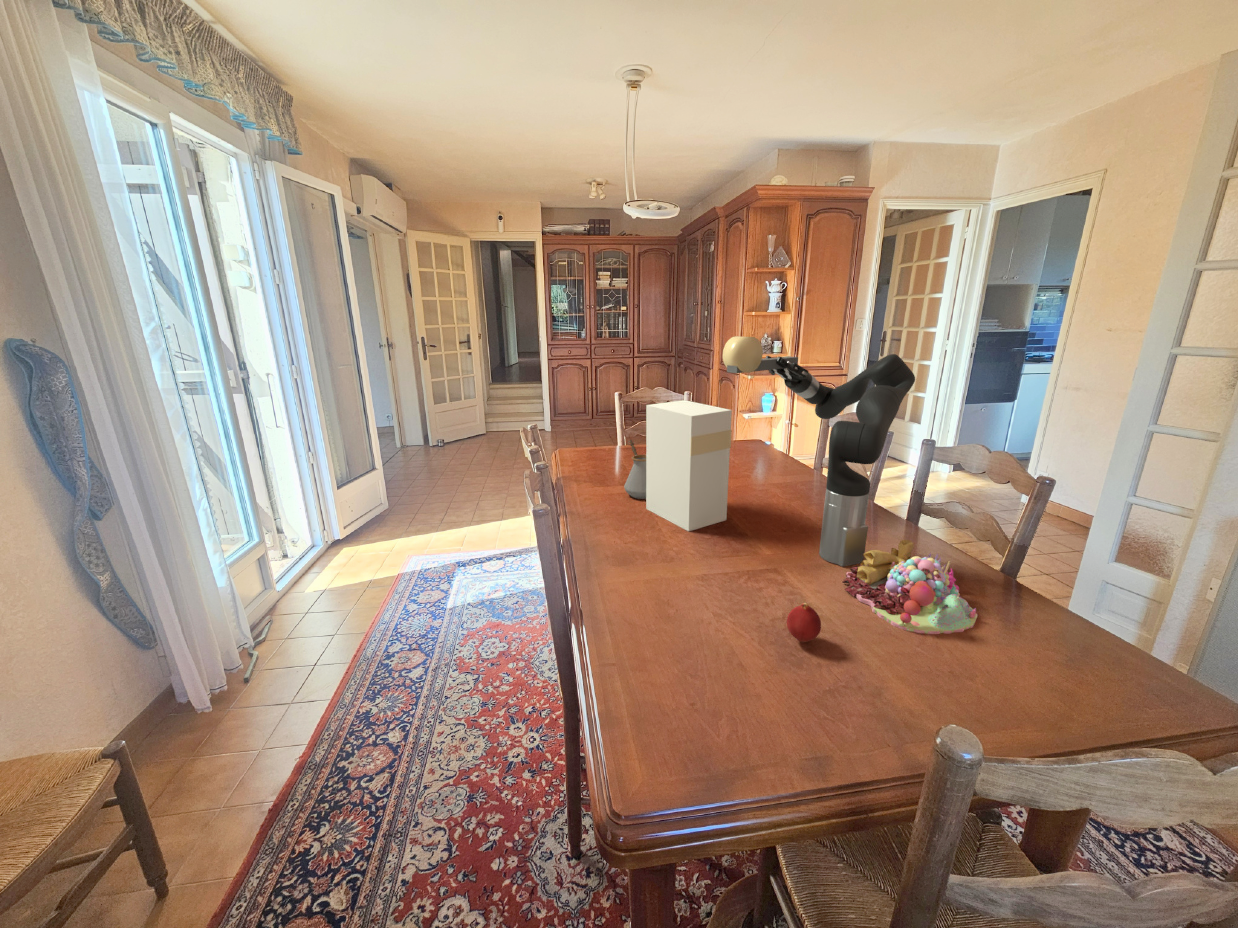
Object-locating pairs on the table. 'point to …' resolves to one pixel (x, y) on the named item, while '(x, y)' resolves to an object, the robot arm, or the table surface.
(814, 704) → the table surface
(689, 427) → the tall box
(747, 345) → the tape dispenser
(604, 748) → the table surface
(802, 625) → the onion
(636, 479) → the coffee pot
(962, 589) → the table surface
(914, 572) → the candy landscape model
